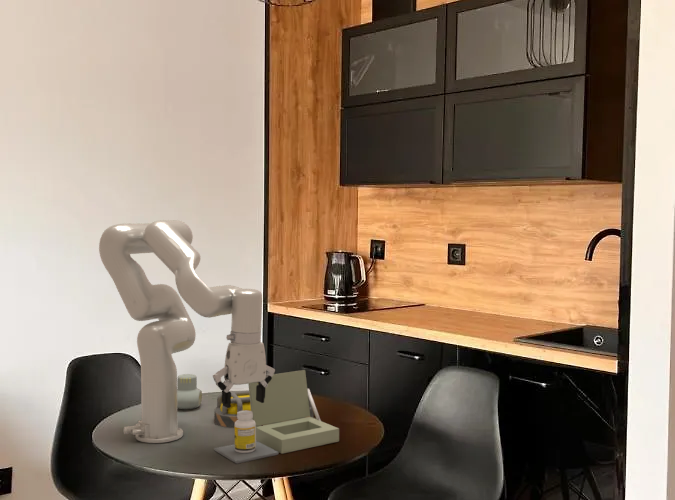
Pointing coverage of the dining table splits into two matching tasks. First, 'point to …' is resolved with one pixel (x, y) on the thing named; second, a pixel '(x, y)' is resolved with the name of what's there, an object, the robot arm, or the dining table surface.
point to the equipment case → (289, 415)
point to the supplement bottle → (245, 432)
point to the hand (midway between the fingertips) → (243, 404)
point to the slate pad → (238, 457)
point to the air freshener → (188, 392)
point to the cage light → (237, 409)
